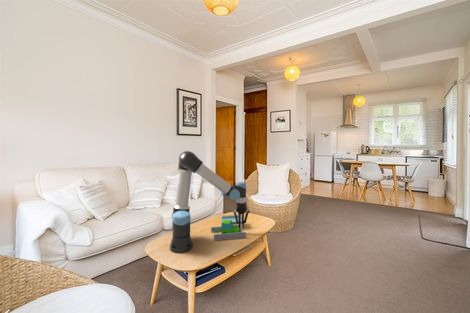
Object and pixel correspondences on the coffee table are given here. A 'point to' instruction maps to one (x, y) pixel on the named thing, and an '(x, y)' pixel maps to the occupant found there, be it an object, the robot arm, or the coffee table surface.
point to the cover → (230, 218)
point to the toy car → (228, 227)
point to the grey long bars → (227, 234)
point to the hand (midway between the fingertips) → (241, 232)
